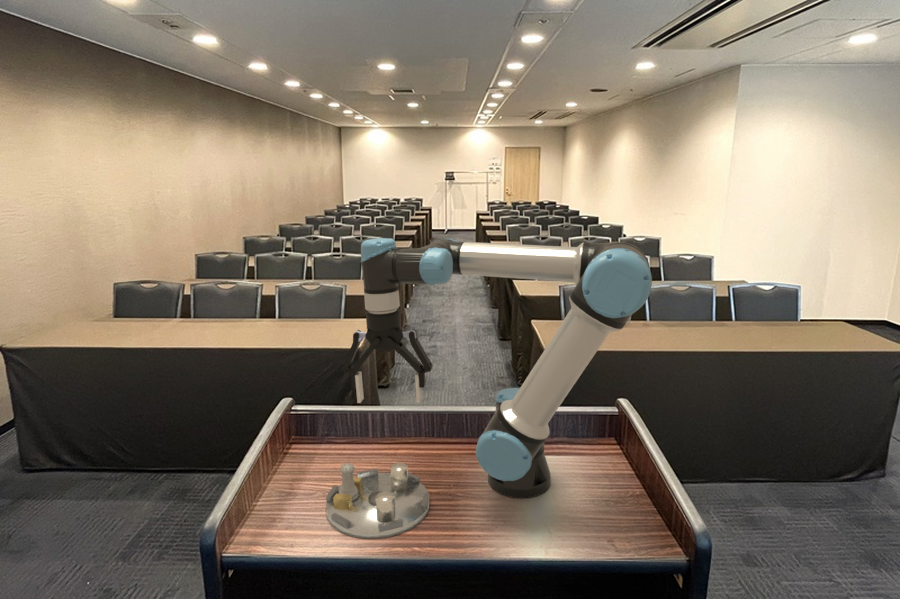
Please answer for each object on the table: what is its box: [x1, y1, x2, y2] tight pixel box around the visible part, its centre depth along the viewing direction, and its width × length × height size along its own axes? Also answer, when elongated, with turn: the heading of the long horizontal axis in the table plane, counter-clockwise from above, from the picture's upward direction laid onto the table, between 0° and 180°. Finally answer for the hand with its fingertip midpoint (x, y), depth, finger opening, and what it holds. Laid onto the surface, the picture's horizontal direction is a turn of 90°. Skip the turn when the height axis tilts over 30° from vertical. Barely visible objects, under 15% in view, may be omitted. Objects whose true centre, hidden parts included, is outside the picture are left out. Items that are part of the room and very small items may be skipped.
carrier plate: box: [325, 462, 430, 540], centre depth 125 cm, size 23×23×6 cm
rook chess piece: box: [339, 462, 359, 501], centre depth 125 cm, size 4×4×8 cm
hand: (389, 400), depth 126 cm, fingers open, 13 cm apart
